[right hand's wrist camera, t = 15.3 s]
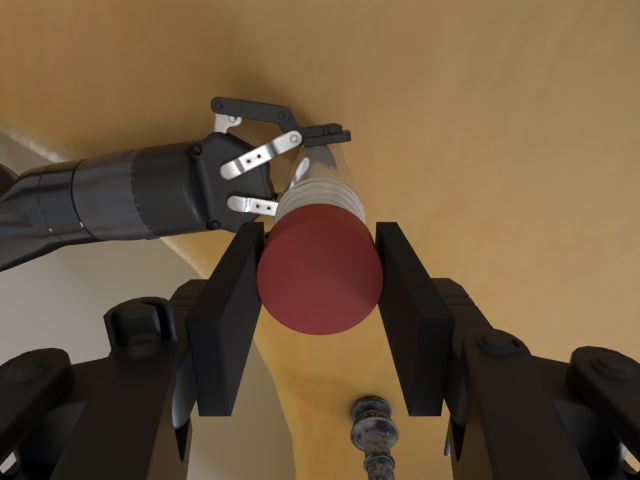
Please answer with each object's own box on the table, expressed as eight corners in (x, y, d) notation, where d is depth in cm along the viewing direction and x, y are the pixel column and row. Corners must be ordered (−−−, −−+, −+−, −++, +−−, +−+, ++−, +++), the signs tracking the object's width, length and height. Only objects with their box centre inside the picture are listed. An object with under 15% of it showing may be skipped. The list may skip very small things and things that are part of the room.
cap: (265, 198, 13) (255, 217, 11) (381, 206, 14) (392, 225, 12) (264, 300, 15) (255, 332, 13) (368, 306, 15) (375, 338, 13)
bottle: (340, 133, 36) (381, 207, 12) (344, 179, 37) (386, 324, 13) (294, 138, 36) (245, 220, 12) (300, 183, 37) (266, 334, 14)
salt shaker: (351, 431, 49) (361, 529, 38) (345, 398, 47) (352, 491, 36) (395, 425, 49) (417, 523, 38) (390, 391, 47) (412, 484, 36)
